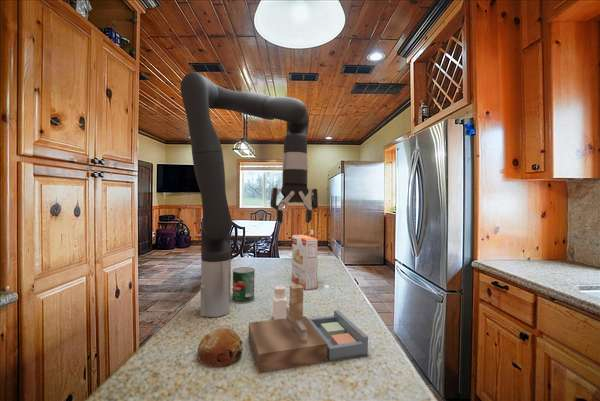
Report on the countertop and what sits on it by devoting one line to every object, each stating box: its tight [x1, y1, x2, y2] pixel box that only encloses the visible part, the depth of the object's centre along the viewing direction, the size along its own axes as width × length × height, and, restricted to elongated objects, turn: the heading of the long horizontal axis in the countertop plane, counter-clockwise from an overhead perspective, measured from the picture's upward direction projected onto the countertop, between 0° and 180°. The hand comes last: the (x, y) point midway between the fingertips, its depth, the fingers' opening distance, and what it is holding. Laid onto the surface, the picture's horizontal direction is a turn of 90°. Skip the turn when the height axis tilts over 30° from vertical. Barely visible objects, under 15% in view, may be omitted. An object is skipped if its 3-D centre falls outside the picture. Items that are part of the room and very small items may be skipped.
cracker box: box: [291, 234, 319, 291], centre depth 124 cm, size 14×6×21 cm, turn 25°
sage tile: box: [321, 322, 345, 338], centre depth 80 cm, size 5×5×2 cm
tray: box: [307, 309, 369, 362], centre depth 76 cm, size 10×17×4 cm, turn 18°
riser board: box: [248, 315, 328, 373], centre depth 72 cm, size 16×16×4 cm
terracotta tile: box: [331, 333, 357, 345], centre depth 73 cm, size 5×5×2 cm
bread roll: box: [197, 327, 244, 368], centre depth 69 cm, size 10×10×8 cm
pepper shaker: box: [272, 285, 288, 320], centre depth 90 cm, size 4×4×10 cm
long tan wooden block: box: [286, 284, 307, 343], centre depth 74 cm, size 3×14×11 cm, turn 18°
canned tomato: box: [231, 266, 256, 304], centre depth 105 cm, size 8×8×11 cm
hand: (294, 222), depth 87 cm, fingers open, 8 cm apart
